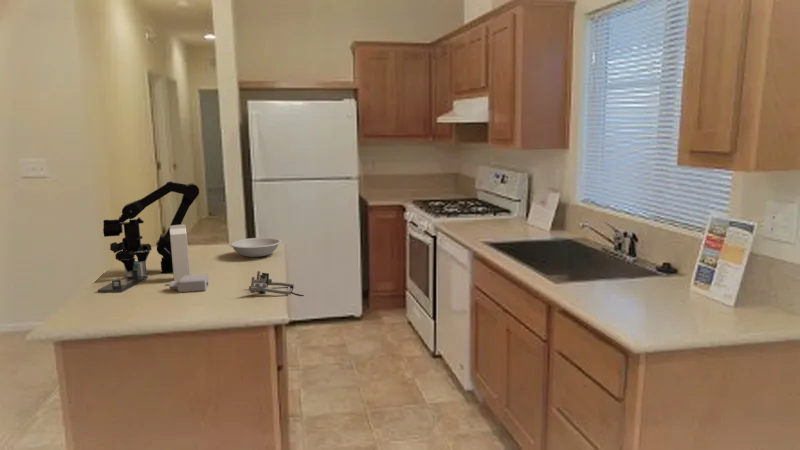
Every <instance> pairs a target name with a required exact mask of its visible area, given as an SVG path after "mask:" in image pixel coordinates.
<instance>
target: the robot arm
mask: <svg viewBox="0 0 800 450" xmlns="http://www.w3.org/2000/svg"><path fill="white" fill-rule="evenodd" d="M171 192H173V193H175V194H176V193H177V194H181V195H182V197H181V200H180V204H179V205H178V207H177V210H176V212H175V214H174V216H173V218H172V220H171V222H170V224H169V226H171V225H182V223H183V220H184V219H185V216H186V214H187V212H188V210H189V208H190V206H191V205H193V203H194V202H195V200H196V199H197V198H198V196H199V195H200V188H199V187H198V185H197V184H195V183H187V184H184V183H179V182H173V181H170V180H169V181H167V182H166V183H165V184H164V185H162V186H160V187H158V188H157V189H155V190H153V191H152V192H150V193H148V194H147V195H145V196H144V197H141V198H140V199H137V200H134V201H132V202H130V203H127V204H125V205H124V206H123V208H122V211H121V215H120V216H119V217H118V219H104V220H103V229H102V231H103V237H104V238H105V237H117V236H118V237H119V236H121V234H123V232H124V237H123V238H122V241H121V242H119V243H118V242H116V241H115V242H112V243H110V244H109V245H110V246H109V250H110V251H111V252H113V253H114V254H115V260H117V261H119V262H121V263H123V265H125V267H126V270H127V272H128V271H129V270H133V267H134V262H135V261H136V258H137V261H147V259H148V257H149V254H150V253H151V251H152V245H151V244H150V243H142V241H141V239H143V235H141V233H140V231H141V229H140V224H144V221H145V220H143V219H142V218H141V217H137V216H138V215H140V214H141V213H142V211H144V210H145V209H146V208H147V207H148V206H150V205H152V204H154V203H155V202H157V201H158V200H160V199H162V198H163V197H164V196H166V195H168V194H170V193H171ZM136 217H137V218H136ZM127 220H129V221H127ZM169 226H168V228H167V230H166V232H165V233H164V234H162V233H160V235H159V238H158V240H156V244H155V246H156V251H157V253H158V255H160V256H162V257H161V261H160V268H161V269H160V273H161V274H173V264H172V252H171V241H170V227H169ZM135 257H136V258H135ZM125 267H124V268H125Z"/></svg>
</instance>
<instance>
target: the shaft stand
mask: <svg viewBox="0 0 800 450" xmlns="http://www.w3.org/2000/svg"><path fill="white" fill-rule="evenodd" d="M137 273H138V269H133V270H129V271H128V272H127V276H125V275H124V276H122V277H121V278H119V277H118V278H117V277H116V278H114V279H112V280H111V283H109V284H106V285H105V286H103V287H101V288H98V289H97V293H123V292H125V291H127V290H129V289H131V288H132V287H134V286H136V285H138V284H140V283H142V282H144V281H145V280H147V279H148V278H149V276H148V275H143V276H137Z"/></svg>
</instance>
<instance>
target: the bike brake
mask: <svg viewBox="0 0 800 450" xmlns="http://www.w3.org/2000/svg"><path fill="white" fill-rule="evenodd" d="M269 276H270V273H267V272H261V270H257V273H256V278H255V276H251V282H250V285H249V287H248V290H249V292H250V293H251V294H254V292H255V291H258V292H257V293H258V294H261V295H262V294H265V295H266V292H267V293H268V292H269V293H272V294H277V295H278V294H279V295H280V294H281V295H295V296H298V297H304V294H299V293H296V292H293V290H294V288H295V284H294V283H289V282H288V283H287V282H282V281H272V280H273V278H270V277H269ZM269 286H279V287H280V286H281V287H288V288H289V289H288V290H282V289H275V288H271V287H269Z"/></svg>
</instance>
